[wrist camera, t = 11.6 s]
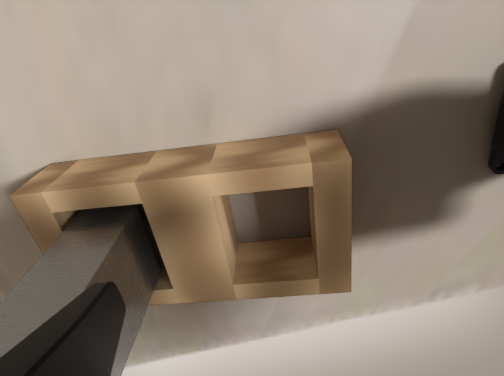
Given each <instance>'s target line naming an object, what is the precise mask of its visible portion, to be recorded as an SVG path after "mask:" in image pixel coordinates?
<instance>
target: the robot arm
mask: <svg viewBox="0 0 504 376" xmlns="http://www.w3.org/2000/svg"><path fill="white" fill-rule="evenodd" d="M491 145H492V151H491V155H490V159H489V164H488V168H489V169H490V170H491V171H492V172H494V173H495V174H504V98H503V101H502V103H501V104H500V109H499V113H498V117H497V122H496V126H495V130H494V135H493V139H492V144H491ZM500 163H502V164H501V165H500V166H499V167H497V165H498V164H500ZM125 313H126V306H125V302H124V300H123V298H122V296H121V294H120V292H119V290H118V288H117V286H116V284H115V283H114V282H113V281H99V282H95V283H94V284H92V285H91V286H90V287H88V288H87V289H86V290H85V291H83V292H82V293H81V294H80V295H78V296H77V297H76V298H75V299H73V300H72V301H71V302H69V303H68V304H67V305H66V306H64V307H63V308H62V309H61V310H59V311H58V312H57V313H56V314H54V315H53V316H52V317H51V318H49V319H48V320H47V321H46V322H44V323H43V324H42V325H41V326H39V327H38V328H37V329H35V330H34V331H33V332H32V333H30V334H29V335H28V336H27V337H25V338H24V339H23V340H22V341H20V342H19V343H18V344H17V345H15V346H14V347H13V348H12V349H10V350H9V351H8V352H6V353H5V354H4V355H3V356H1V357H0V376H111V373H112V369H113V365H114V361H115V356H116V352H117V348H118V344H119V339H120V335H121V331H122V327H123V322H124V318H125Z"/></svg>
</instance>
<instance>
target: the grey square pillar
mask: <svg viewBox="0 0 504 376" xmlns="http://www.w3.org/2000/svg"><path fill="white" fill-rule="evenodd" d="M163 266H164V262H163V259H162V257H161V254H160V251H159V248H158V246H157V243H156V240H155V237H154V235H153V232H152V229H151V226H150V224H149V221H148V218H147V215H146V213H145V210H144V207H143V204H132V205H122V206H112V207H103V208H93V209H83V210H81V211H80V212H79V214H78V215H77V216H76V217H75V218H74V219H73V220H72V222H71V223H70V224H69V225H68V226H67V227H66V228H65V230H64V231H63V232H62V233H61V234H60V235H59V236H58V238H57V239H56V240H55V241H54V242H53V243H52V244H51V246H50V247H49V248H48V249H47V250H46V251H45V252H44V254H43V255H42V256H41V257H40V258H39V259H38V260H37V262H36V263H35V264H34V265H33V266H32V267H31V268H30V270H29V271H28V272H27V273H26V274H25V275H24V276H23V278H22V279H21V280H20V281H19V282H18V283H17V284H16V286H15V287H14V288H13V289H12V290H11V291H10V293H9V294H8V295H7V296H6V297H5V298H4V299H3V301H2V302H1V303H0V357H1V356H3V355H4V354H5V353H6V352H8V351H9V350H10V349H12V348H13V347H14V346H15V345H17V344H18V343H19V342H20V341H22V340H23V339H24V338H25V337H27V336H28V335H29V334H30V333H32V332H33V331H34V330H35V329H37V328H38V327H39V326H41V325H42V324H43V323H44V322H46V321H47V320H48V319H49V318H51V317H52V316H53V315H54V314H56V313H57V312H58V311H59V310H61V309H62V308H63V307H64V306H66V305H67V304H68V303H69V302H71V301H72V300H73V299H75V298H76V297H77V296H78V295H80V294H81V293H82V292H83V291H85V290H86V289H87V288H88V287H90V286H91V285H92V284H94V283H95V282H99V281H113V282H114V283H115V284H116V286H117V288H118V290H119V292H120V294H121V296H122V298H123V300H124V302H125V306H126V313H125V318H124V322H123V327H122V331H121V335H120V339H119V344H118V348H117V352H116V356H115V361H114V365H113V369H112V373H111V376H121V374H122V371H123V369H124V366H125V364H126V361H127V359H128V356H129V353H130V351H131V348H132V346H133V343H134V341H135V338H136V336H137V333H138V330H139V328H140V325H141V323H142V320H143V318H144V315H145V312H146V310H147V307H148V305H149V302H150V300H151V297H152V294H153V292H154V289H155V287H156V284H157V282H158V279H159V276H160V274H161V271H162V269H163Z"/></svg>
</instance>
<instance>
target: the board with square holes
mask: <svg viewBox="0 0 504 376" xmlns="http://www.w3.org/2000/svg"><path fill="white" fill-rule="evenodd" d="M300 187H308V196H309V210H310V225H311V237H302V238H290V239H278V240H266V241H255V242H243V243H238V239H237V235H236V230H235V225H234V220H233V215H232V211H231V206H230V201H229V196H228V195H231V194H241V193H251V192H260V191H270V190H280V189H290V188H300ZM9 198H10V199H11V201H12V203H13V204H14V206H15V208H16V210H17V211H18V213H19V215H20V216H21V218H22V220H23V221H24V223H25V225H26V226H27V228H28V230H29V231H30V233H31V235H32V237H33V238H34V240H35V242H36V243H37V245H38V247H39V248H40V250H41V252H42V253H43V254H44V252H45V251H46V250H47V249H48V248H49V247H50V246H51V244H52V243H53V242H54V241H55V240H56V239H57V238H58V236H59V235H60V234H61V233H62V232H63V231H64V230H65V228H66V227H67V226H68V225H69V224H70V223H71V222H72V220H73V219H74V218H75V217H76V216H77V215H78V214H79V212H80V211H81V210H83V209H93V208H103V207H112V206H122V205H132V204H143V207H144V210H145V213H146V215H147V218H148V221H149V224H150V226H151V229H152V232H153V235H154V237H155V240H156V243H157V246H158V248H159V251H160V254H161V257H162V259H163V262H164V266H163V269H162V271H161V274H160V276H159V279H158V282H157V284H156V287H155V289H154V292H153V294H152V297H151V300H150V302H149V305H162V304H177V303H193V302H208V301H223V300H238V299H253V298H268V297H283V296H299V295H314V294H329V293H344V292H351V240H352V158H351V156H350V154H349V152H348V150H347V148H346V146H345V144H344V142H343V140H342V138H341V136H340V134H339V132H338V130H337V129H336V130H327V131H319V132H310V133H302V134H294V135H285V136H277V137H268V138H260V139H252V140H243V141H235V142H226V143H218V144H210V145H201V146H193V147H184V148H176V149H168V150H159V151H151V152H142V153H134V154H126V155H117V156H109V157H100V158H92V159H83V160H75V161H67V162H58V163H51V164H49V165H48V166H47V167H46V168H44V169H43V170H42V171H40V172H39V173H38V174H36V175H35V176H34V177H33V178H31V179H30V180H29V181H27V182H26V183H25V184H23V185H22V186H21V187H20V188H18V189H17V190H16V191H14V192H13V193H12V194H10V195H9Z"/></svg>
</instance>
